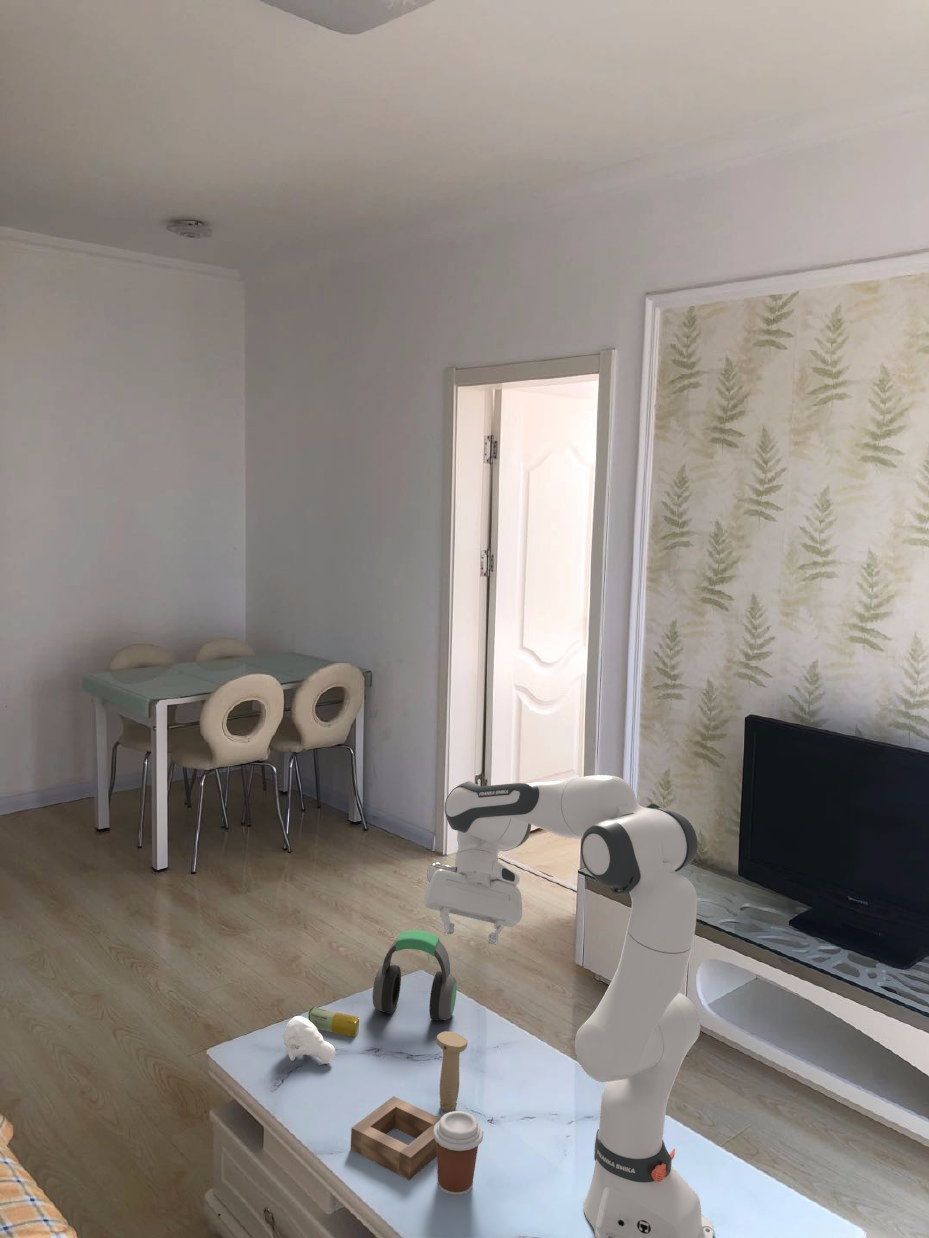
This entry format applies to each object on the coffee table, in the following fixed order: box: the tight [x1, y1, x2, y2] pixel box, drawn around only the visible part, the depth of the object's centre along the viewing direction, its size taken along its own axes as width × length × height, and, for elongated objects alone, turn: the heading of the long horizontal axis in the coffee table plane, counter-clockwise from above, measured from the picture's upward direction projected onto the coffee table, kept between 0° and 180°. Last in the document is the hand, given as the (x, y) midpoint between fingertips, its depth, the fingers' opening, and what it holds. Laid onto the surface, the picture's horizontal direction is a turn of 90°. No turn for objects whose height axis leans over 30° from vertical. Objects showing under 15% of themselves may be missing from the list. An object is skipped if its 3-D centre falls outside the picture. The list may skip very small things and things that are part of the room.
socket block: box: [349, 1095, 441, 1181], centre depth 194 cm, size 14×13×4 cm
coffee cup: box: [433, 1110, 484, 1197], centre depth 184 cm, size 9×9×12 cm
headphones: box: [372, 929, 458, 1021], centre depth 243 cm, size 19×11×20 cm, turn 80°
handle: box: [436, 1030, 469, 1112], centre depth 206 cm, size 5×6×15 cm
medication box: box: [307, 1006, 360, 1038], centre depth 235 cm, size 12×3×4 cm, turn 73°
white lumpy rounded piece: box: [282, 1015, 336, 1066], centre depth 222 cm, size 6×8×12 cm
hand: (471, 938), depth 199 cm, fingers open, 8 cm apart
